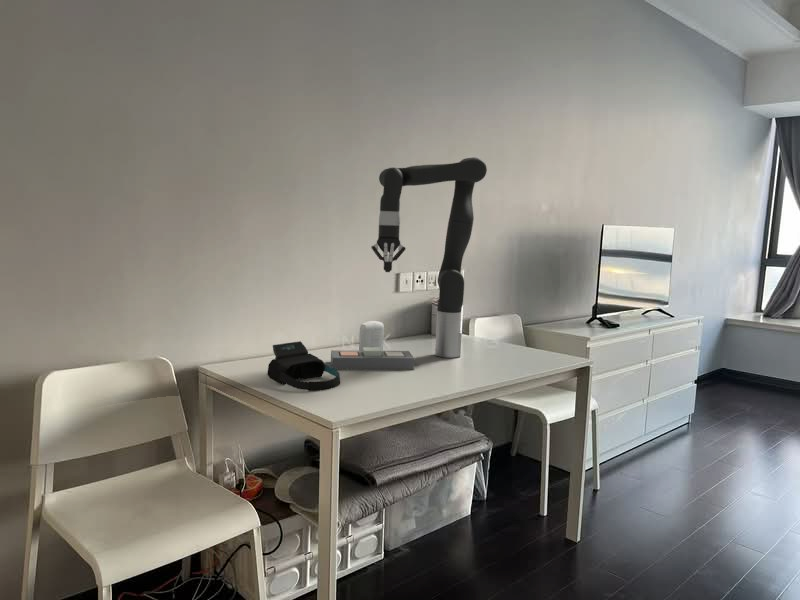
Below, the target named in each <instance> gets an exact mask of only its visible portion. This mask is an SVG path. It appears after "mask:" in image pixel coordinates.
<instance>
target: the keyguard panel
mask: <svg viewBox="0 0 800 600" xmlns="http://www.w3.org/2000/svg"><path fill="white" fill-rule="evenodd" d="M340 352H357V353H358V355H359V356H340ZM385 352H402V353H403V354H404V357H388V356H385ZM330 365H331V368H333V369H335V370H378V371H379V370H381V371H382V370H385V371H386V370H391V371H393V370H401V371H402V370H403V371H405V370H410V371H411V370H415V357H414V356H413V355H412V353H411V352H410V351H409V350H383V351H382V356H363V351H359V350H344V349H343V350H339V349H337V350H336V349H335V350H334V349H333V350H330Z"/></svg>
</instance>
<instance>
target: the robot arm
mask: <svg viewBox="0 0 800 600" xmlns="http://www.w3.org/2000/svg"><path fill="white" fill-rule="evenodd" d="M487 170H488V169H487V165H486V163H485V162H484V160H483V159H481V158H478V157H475V156H474V157H467V158H463V159H461V160H460V161H458V162H453V163H442V164H441V163H440V164H436V163H435V164H422V165H421V164H420V165H418V164H417V165H410V166H407V167H387V168H385V169H383V170H382V171H380V173H379V176H378V179H379V180H378V181H379V184H380V185H381V186H382V187H383V191H382V195H381V197H380V203H379V216H378V235H377V237H378V238H377V240H376V243H374V245H371V247H370V248H371V250H372V251H373V253H374V254H375V255H376V257H377V258H378V260H380V261H382V262H383V270H384V271H385V273H390V272H391V271H392V269H393V262H395V261H397V260H398V259H399V257H401V255H402V254H403V253H404V252H405V251H406V247H405V246H403V245H402V244H401V240H400V227H401V226H400V225H401V217H400V208H401V206H400V205H401V200H400V199H401V194H402V190H403V187H406V186H410V187H411V186H423V185H424V186H425V185H431V184H438V183H445V182H454V191H453V196H452V197H453V198H452V202H451V208H450V213H449V218H448V223H447V229H446V234H445V235H446V236H445V245H444V252H443V253H444V254H443V259H442V262H441V266H440V269H439V272H438V276H437V285H438V287H439V291H438V292H439V293H438V294H439V295H438V302H437V307H436V311H437V312H436V327H435V328H436V329H435V330H436V331H435V348H434V349H435V350H434V352H435V353H434V355H435V356H437V357H440V358H458V357H459V358H460V357H461V353H462V352H461V351H462V333H463V332H462V331H461V327H462V310H463V309H462V307H463V304H464V293H465V278H464V276H463V274H462V273H461V271H462V265H463V264H462V263H463V259H464V255H465V252H466V249H467V247H468V245H469V242H470V240H471V236H472V231H473V225H474V217H475V216H474V208H473V192H474V187H475V184H476V183H479V182H481V181H482V180H483V179H484V178H485V177H486V175H487ZM379 249H380V250H381V252H382V254H381V253H380V252H379V251H378V250H379ZM397 249H398V251H397V252H396V250H397ZM394 252H396V254H395V255H394ZM382 255H383V256H382Z"/></svg>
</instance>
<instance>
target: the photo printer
mask: <svg viewBox="0 0 800 600" xmlns="http://www.w3.org/2000/svg"><path fill="white" fill-rule="evenodd" d="M384 328H385V325H384V323H383V322H381V321H378V320H369V321H366V322H364V323H363V322H362V324H360V326H359V337H358V338H359V342H358V344H359V345H358V351H363V347H377V348H380V349H381V351H384V335H385V334H384V333H385V329H384Z"/></svg>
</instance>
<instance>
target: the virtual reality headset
mask: <svg viewBox="0 0 800 600" xmlns="http://www.w3.org/2000/svg"><path fill="white" fill-rule="evenodd" d="M272 350H273V351H272V352H273V354H274V356H275V358H274V359H271V360H270V362H269V363H268V366H267V372H266V373H267V374H266V375H267V376H268V377H269V379H270V380H273V381H274V382H276V383H279V384H280V385H282V386H285V385H288V386H290V387H292V388H294V389H298V390H304V391H308V392H320V390H321V391H327V390H331V388H332V389H334V388H337V387H338V386H340V385H341V375H340V372H339V371H338V369H333V368H332V366H329V365H328V364H325V361H323V360H322V359H320V358H319V357H318V356H315V355H313V354H312V353H309V350H308V349H307V347H306V345H304V344H303V342H302V341H301V340H300V341H299V340H298V341H293V342H285V343H277V344H272ZM324 372H326V373H328V374H330V375H331V376H332V377H333V376H334V377H333V378H332V379H328V380H320V381H318V380H317V381H315V380H312V379H317V378H319V379H320V378H322V377H323V375H324ZM303 380H308V381H303ZM309 380H311V381H309Z"/></svg>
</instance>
